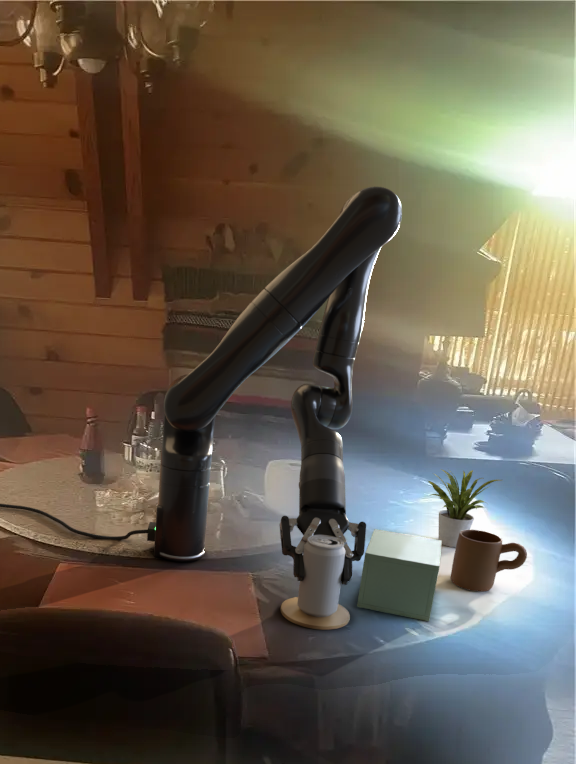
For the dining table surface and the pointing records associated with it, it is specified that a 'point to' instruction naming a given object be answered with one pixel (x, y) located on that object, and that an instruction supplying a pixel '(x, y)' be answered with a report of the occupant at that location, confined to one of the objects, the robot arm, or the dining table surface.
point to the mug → (482, 559)
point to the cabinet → (400, 574)
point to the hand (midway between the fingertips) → (322, 580)
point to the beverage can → (321, 575)
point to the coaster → (324, 623)
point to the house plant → (457, 507)
